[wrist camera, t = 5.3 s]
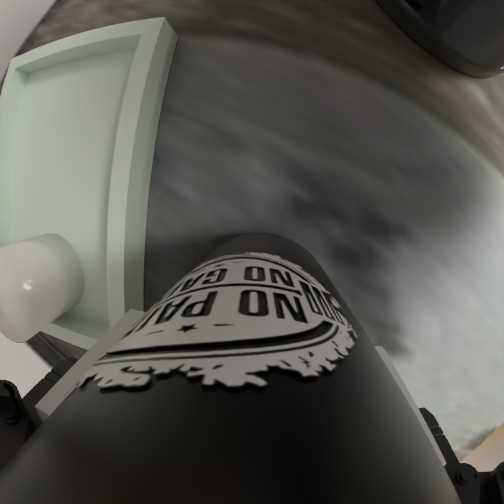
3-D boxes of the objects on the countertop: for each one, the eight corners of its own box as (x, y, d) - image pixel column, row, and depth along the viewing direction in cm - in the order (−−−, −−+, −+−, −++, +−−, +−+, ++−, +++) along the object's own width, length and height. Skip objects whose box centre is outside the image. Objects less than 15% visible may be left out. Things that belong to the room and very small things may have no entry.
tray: (32, 66, 14) (11, 59, 12) (178, 37, 14) (164, 16, 11) (16, 298, 20) (-4, 309, 17) (144, 341, 19) (128, 363, 16)
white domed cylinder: (30, 228, 17) (-25, 244, 11) (83, 238, 17) (23, 260, 11) (35, 298, 18) (-11, 327, 12) (87, 316, 18) (40, 355, 12)
